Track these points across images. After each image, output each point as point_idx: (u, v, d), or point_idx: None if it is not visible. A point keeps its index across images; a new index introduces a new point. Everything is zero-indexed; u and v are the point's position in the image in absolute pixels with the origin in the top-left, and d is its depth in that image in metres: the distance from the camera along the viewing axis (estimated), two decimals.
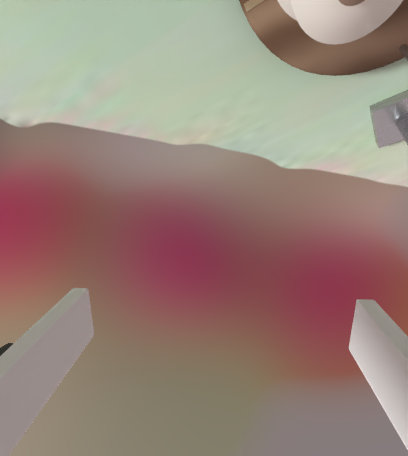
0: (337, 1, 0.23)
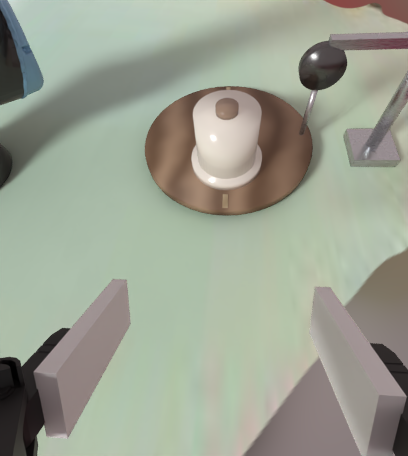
0: (233, 119, 0.37)
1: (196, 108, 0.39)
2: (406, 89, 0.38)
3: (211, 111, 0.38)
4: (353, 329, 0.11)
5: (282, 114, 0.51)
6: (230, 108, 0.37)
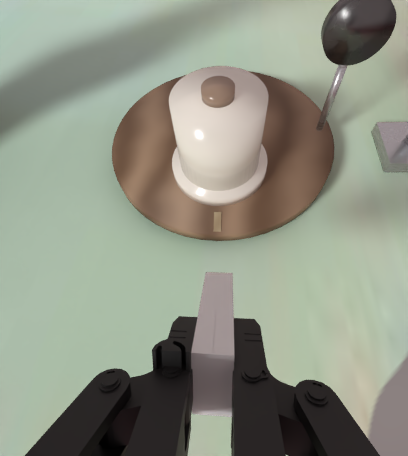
0: (227, 106, 0.25)
1: (174, 91, 0.27)
2: None
3: (196, 96, 0.26)
4: (228, 306, 0.13)
5: (292, 104, 0.39)
6: (223, 90, 0.25)
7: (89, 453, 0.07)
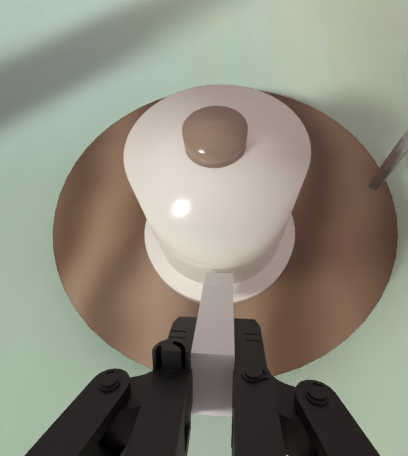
0: (233, 166, 0.13)
1: (136, 133, 0.15)
2: None
3: (174, 142, 0.14)
4: (228, 306, 0.13)
5: (325, 142, 0.26)
6: (224, 136, 0.13)
7: (89, 453, 0.07)
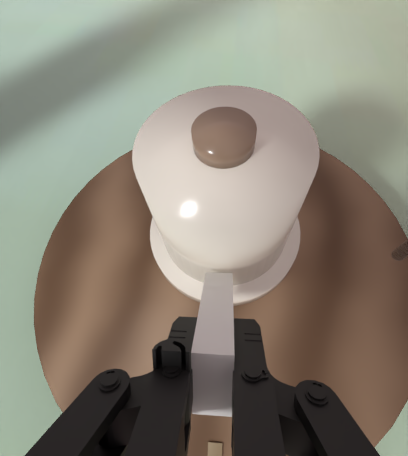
0: (240, 167, 0.13)
1: (145, 131, 0.15)
2: None
3: (183, 142, 0.14)
4: (228, 306, 0.13)
5: (339, 194, 0.24)
6: (233, 137, 0.13)
7: (89, 453, 0.07)
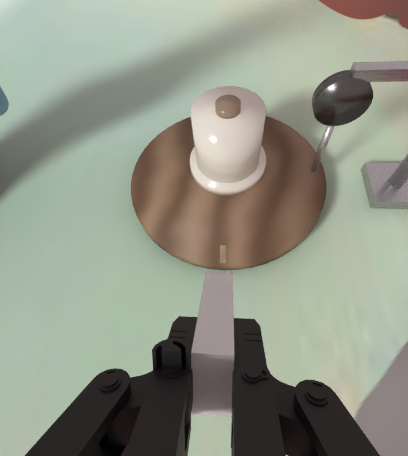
0: (234, 118, 0.34)
1: (195, 105, 0.35)
2: None
3: (211, 109, 0.35)
4: (228, 306, 0.13)
5: (290, 145, 0.44)
6: (231, 106, 0.33)
7: (89, 453, 0.07)
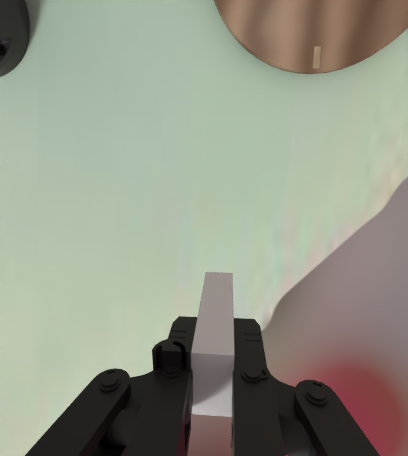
0: None
1: None
2: None
3: None
4: (228, 305, 0.13)
5: None
6: None
7: (89, 454, 0.07)
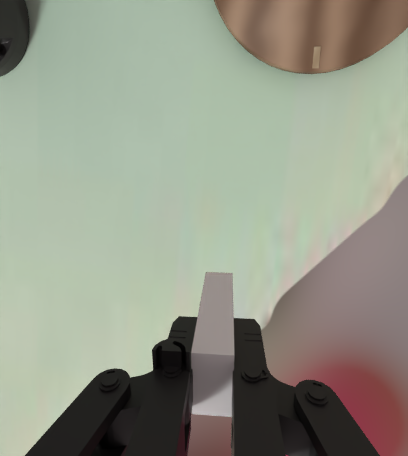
0: None
1: None
2: None
3: None
4: (228, 305, 0.13)
5: None
6: None
7: (89, 454, 0.07)
